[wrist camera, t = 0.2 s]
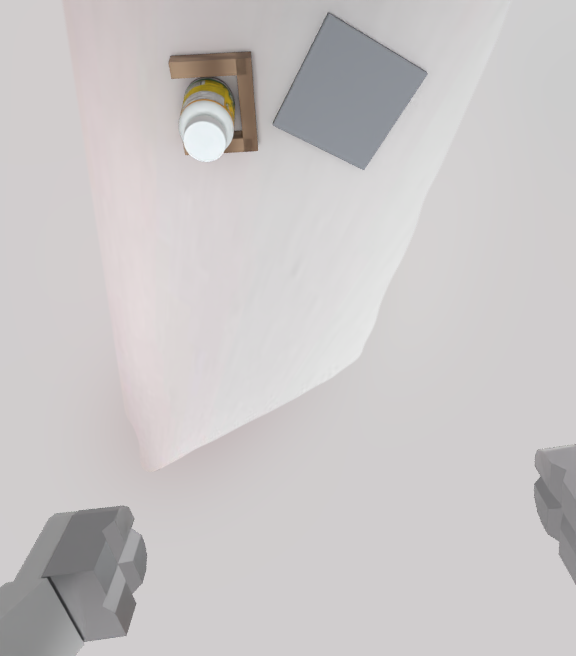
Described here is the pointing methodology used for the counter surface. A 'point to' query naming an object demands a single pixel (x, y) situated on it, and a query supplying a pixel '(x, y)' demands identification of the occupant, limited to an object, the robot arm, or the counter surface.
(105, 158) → the counter surface
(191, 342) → the counter surface
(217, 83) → the supplement bottle
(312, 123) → the slate mat
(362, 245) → the counter surface
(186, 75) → the slot holder
